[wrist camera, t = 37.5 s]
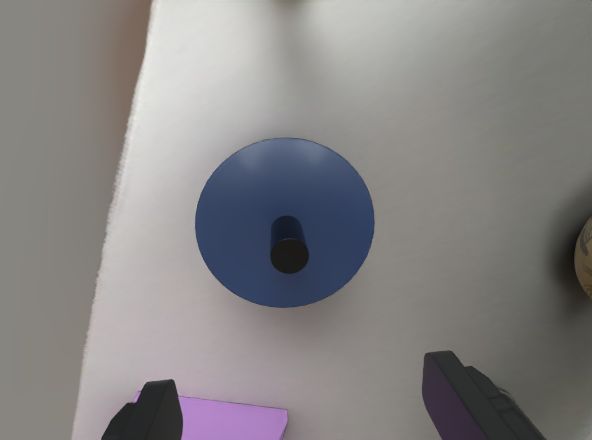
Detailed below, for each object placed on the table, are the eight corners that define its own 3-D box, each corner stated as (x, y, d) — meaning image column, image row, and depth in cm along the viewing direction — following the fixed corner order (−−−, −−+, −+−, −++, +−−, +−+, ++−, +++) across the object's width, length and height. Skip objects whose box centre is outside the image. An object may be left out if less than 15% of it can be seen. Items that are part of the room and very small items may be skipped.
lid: (369, 292, 27) (395, 337, 22) (212, 308, 27) (196, 358, 21) (371, 130, 23) (402, 134, 18) (184, 144, 23) (154, 152, 17)
